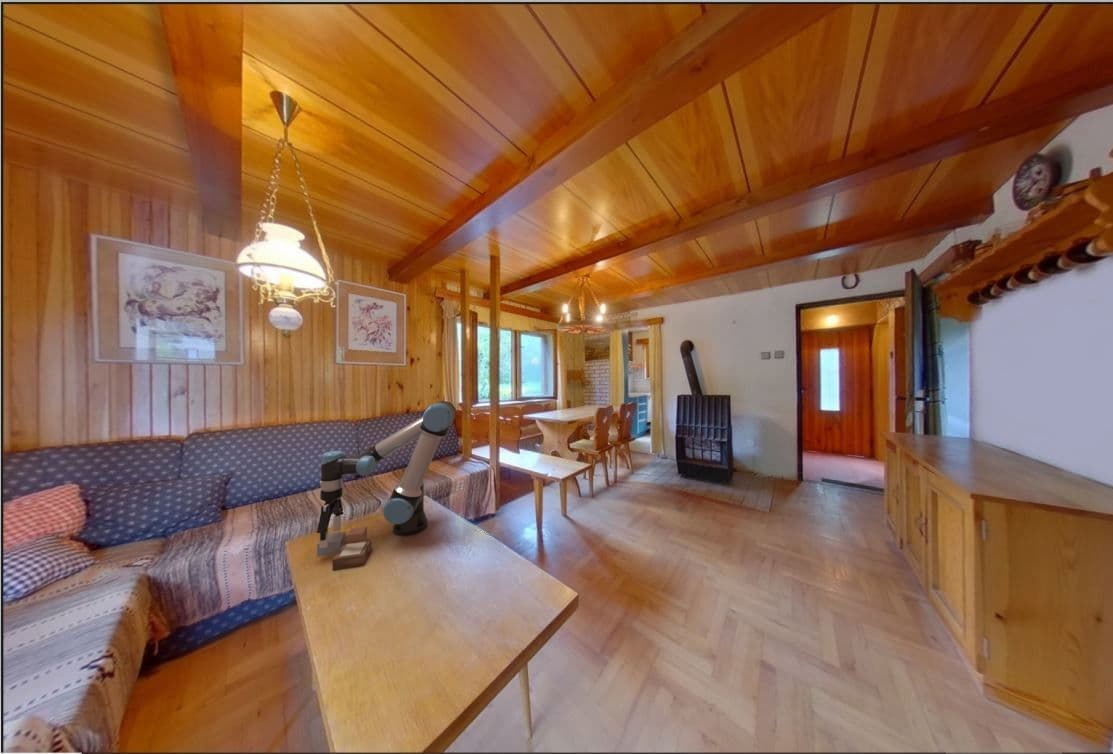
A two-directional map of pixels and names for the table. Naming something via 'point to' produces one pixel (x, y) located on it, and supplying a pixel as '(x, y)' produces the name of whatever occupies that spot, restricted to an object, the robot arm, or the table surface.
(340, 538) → the slate block
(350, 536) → the terracotta cube
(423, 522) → the robot arm
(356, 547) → the plinth
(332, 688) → the table surface
